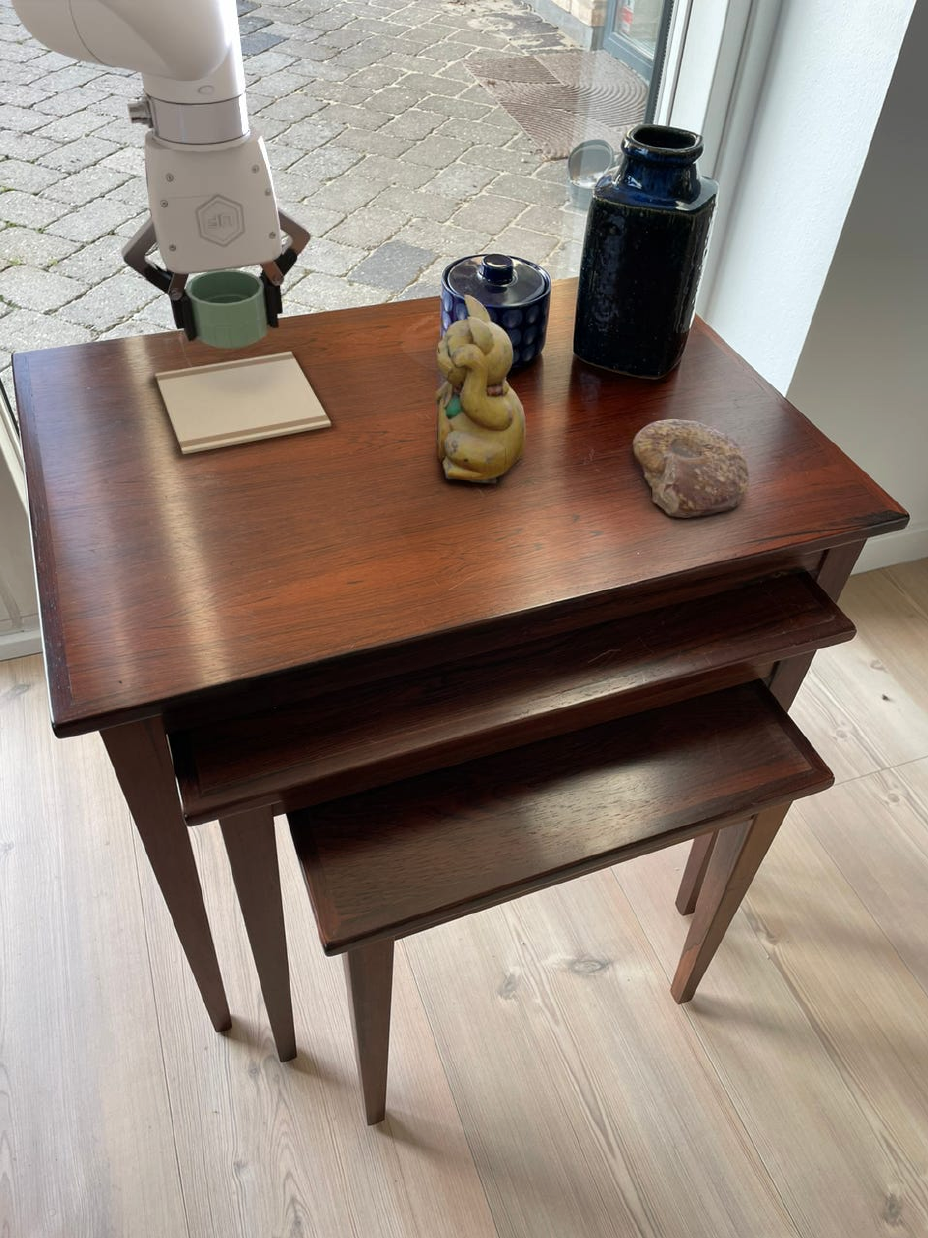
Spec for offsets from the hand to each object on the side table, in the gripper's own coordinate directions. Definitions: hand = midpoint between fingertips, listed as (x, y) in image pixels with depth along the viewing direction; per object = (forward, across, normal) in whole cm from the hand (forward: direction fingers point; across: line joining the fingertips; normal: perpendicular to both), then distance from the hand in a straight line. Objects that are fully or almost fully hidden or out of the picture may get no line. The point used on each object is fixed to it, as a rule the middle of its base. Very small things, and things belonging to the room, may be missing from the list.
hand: (230, 326), depth 82 cm
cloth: (+8, 0, 0) cm, 8 cm away
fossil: (+8, +35, -26) cm, 44 cm away
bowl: (+1, 0, 0) cm, 1 cm away
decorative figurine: (+8, +18, -17) cm, 26 cm away
